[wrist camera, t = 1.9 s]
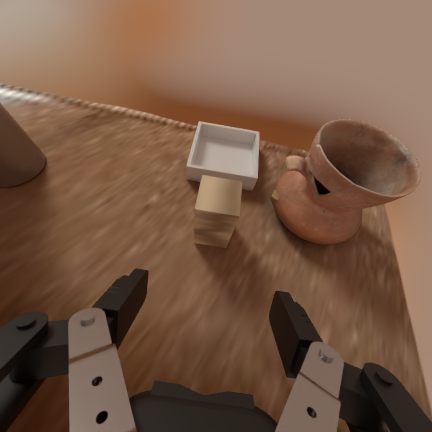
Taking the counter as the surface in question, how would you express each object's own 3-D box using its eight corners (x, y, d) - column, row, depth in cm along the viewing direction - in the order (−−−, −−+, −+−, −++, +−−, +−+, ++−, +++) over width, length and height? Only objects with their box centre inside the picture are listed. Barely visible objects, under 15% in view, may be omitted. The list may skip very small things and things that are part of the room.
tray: (186, 179, 36) (186, 166, 33) (198, 136, 42) (199, 121, 39) (252, 190, 37) (257, 178, 34) (254, 145, 43) (259, 131, 40)
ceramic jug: (260, 242, 32) (307, 189, 19) (260, 173, 39) (294, 102, 26) (367, 258, 33) (477, 217, 20) (348, 188, 40) (420, 126, 27)
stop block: (194, 243, 30) (194, 209, 22) (199, 215, 33) (202, 174, 24) (226, 248, 31) (239, 216, 22) (229, 220, 33) (242, 181, 24)
